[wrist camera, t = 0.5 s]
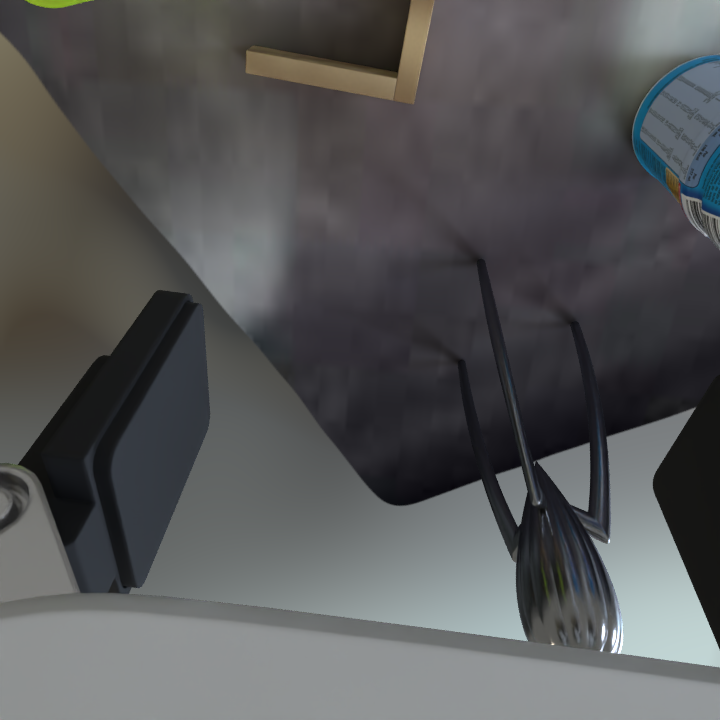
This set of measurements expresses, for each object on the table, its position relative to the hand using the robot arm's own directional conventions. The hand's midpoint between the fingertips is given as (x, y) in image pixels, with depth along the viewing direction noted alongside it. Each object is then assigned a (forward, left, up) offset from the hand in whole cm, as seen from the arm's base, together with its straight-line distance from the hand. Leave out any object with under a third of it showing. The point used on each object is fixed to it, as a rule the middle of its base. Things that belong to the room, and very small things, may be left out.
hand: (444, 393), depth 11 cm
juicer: (+19, +13, -35) cm, 42 cm away
